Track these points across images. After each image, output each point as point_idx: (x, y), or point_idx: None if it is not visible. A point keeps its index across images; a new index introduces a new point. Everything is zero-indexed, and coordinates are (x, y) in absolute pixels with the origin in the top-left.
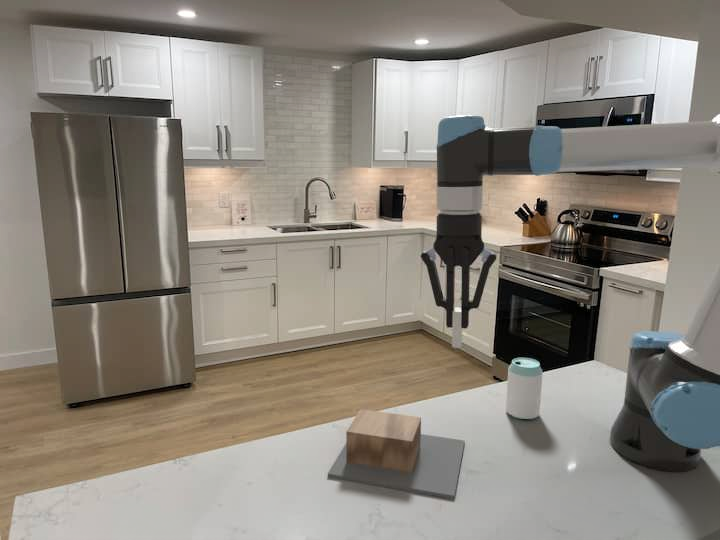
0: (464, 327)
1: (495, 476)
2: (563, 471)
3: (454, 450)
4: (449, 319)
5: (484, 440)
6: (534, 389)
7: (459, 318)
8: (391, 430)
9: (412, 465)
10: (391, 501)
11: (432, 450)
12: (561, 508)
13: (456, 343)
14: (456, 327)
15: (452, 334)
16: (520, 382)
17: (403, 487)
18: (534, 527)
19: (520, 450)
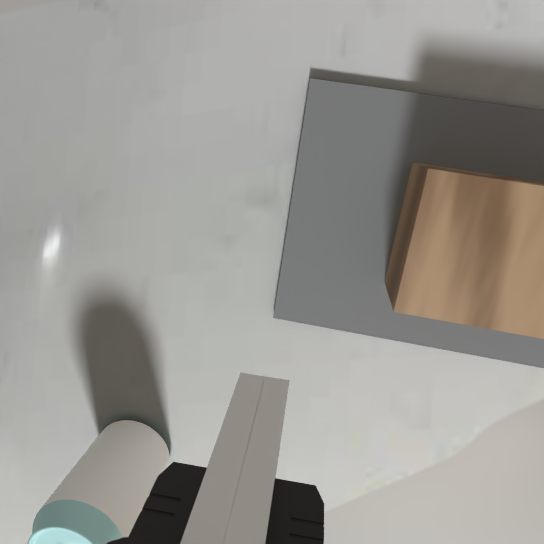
0: (188, 469)
1: (211, 186)
2: (69, 224)
3: (299, 271)
4: (295, 537)
5: (227, 331)
6: (74, 472)
7: (206, 513)
8: (491, 224)
9: (411, 176)
10: (465, 43)
11: (354, 266)
12: (84, 84)
13: (261, 391)
14: (246, 460)
15: (281, 428)
16: (101, 489)
17: (434, 95)
18: (143, 3)
19: (150, 297)
